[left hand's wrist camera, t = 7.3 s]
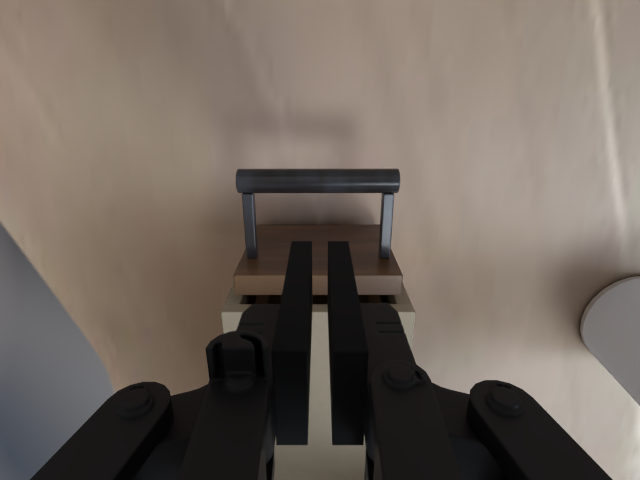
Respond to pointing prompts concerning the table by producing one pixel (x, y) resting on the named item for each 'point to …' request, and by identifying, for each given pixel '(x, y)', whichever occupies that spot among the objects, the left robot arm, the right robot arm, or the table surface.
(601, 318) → the mug
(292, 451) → the cabinet
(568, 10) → the table surface
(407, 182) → the table surface
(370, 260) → the drawer
